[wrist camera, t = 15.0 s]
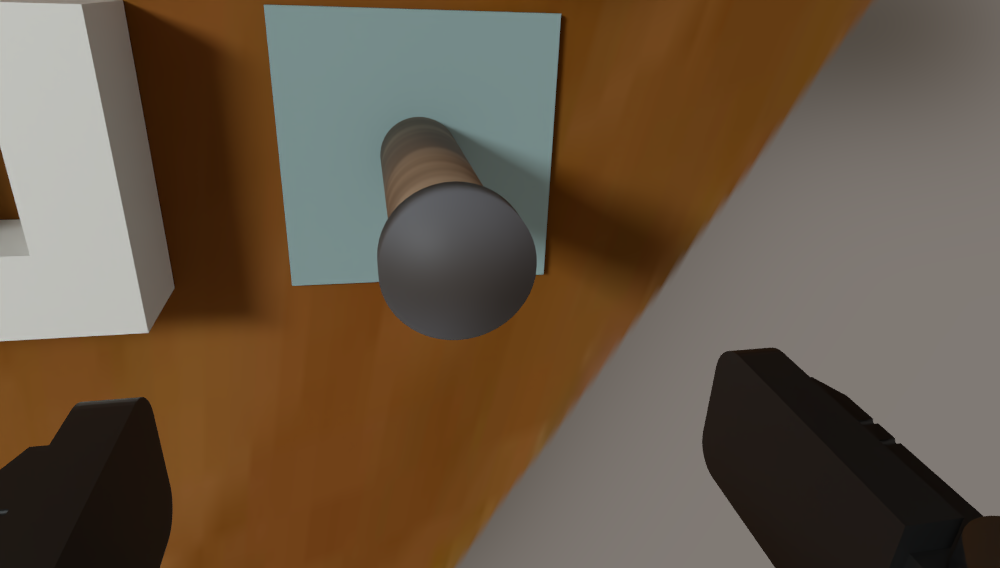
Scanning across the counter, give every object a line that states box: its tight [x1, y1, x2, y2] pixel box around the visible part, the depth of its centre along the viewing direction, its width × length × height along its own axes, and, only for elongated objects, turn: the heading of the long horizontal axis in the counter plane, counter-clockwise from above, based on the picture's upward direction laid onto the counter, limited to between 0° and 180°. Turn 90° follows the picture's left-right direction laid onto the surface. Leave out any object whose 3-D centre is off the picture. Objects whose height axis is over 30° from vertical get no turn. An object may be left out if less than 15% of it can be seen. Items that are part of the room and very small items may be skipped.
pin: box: [377, 117, 537, 340], centre depth 28 cm, size 5×5×15 cm
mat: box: [264, 5, 561, 286], centre depth 35 cm, size 14×14×1 cm
